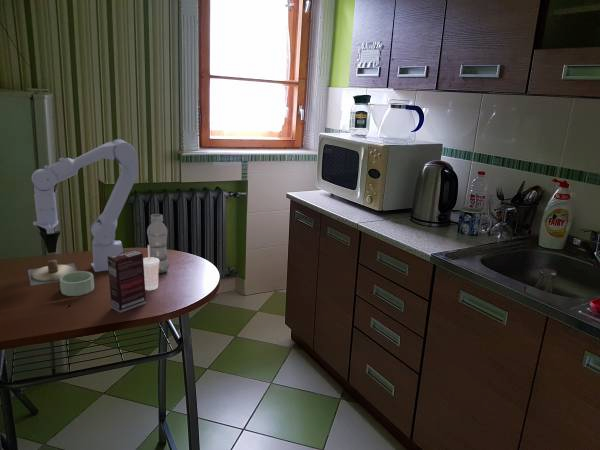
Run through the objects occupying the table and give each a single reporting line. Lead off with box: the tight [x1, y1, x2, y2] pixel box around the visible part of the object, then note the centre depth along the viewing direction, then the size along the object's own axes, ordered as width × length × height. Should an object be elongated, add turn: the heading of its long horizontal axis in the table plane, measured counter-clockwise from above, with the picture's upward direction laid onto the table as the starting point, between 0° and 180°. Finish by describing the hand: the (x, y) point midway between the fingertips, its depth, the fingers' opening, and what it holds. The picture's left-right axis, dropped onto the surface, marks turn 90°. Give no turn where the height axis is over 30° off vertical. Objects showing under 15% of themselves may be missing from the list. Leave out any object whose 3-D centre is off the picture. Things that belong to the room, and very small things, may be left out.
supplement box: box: [107, 249, 147, 314], centre depth 133 cm, size 9×5×16 cm, turn 141°
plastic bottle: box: [146, 213, 170, 274], centre depth 157 cm, size 6×7×20 cm
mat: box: [27, 262, 78, 287], centre depth 153 cm, size 14×14×1 cm
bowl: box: [59, 270, 95, 298], centre depth 143 cm, size 9×9×4 cm
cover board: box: [32, 259, 74, 281], centre depth 153 cm, size 12×12×4 cm
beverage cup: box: [143, 244, 159, 291], centre depth 146 cm, size 6×6×14 cm
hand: (50, 248), depth 151 cm, fingers open, 7 cm apart
